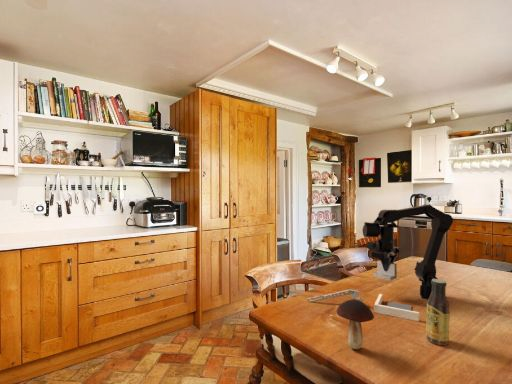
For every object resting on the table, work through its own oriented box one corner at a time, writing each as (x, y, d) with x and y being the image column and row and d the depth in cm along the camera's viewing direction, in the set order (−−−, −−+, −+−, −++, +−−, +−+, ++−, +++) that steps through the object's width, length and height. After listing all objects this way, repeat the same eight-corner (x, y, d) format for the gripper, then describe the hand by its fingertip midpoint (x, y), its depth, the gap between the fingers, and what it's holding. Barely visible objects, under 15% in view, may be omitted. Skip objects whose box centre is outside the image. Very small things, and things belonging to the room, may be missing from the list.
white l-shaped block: (419, 307, 118) (419, 300, 118) (418, 321, 105) (418, 313, 105) (379, 300, 126) (379, 293, 126) (374, 312, 113) (374, 304, 113)
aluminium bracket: (396, 278, 128) (396, 263, 128) (390, 280, 124) (390, 265, 124) (379, 274, 134) (379, 260, 134) (373, 276, 130) (373, 262, 130)
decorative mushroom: (381, 350, 86) (381, 301, 86) (359, 363, 79) (359, 309, 79) (350, 335, 95) (350, 291, 95) (328, 346, 88) (328, 298, 88)
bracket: (363, 302, 119) (352, 280, 119) (317, 321, 122) (306, 299, 123) (362, 299, 122) (351, 278, 123) (317, 317, 125) (306, 297, 126)
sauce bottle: (421, 336, 94) (421, 277, 94) (439, 336, 94) (439, 276, 95) (435, 347, 87) (435, 283, 87) (454, 346, 88) (454, 283, 88)
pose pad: (411, 306, 119) (411, 305, 119) (410, 316, 109) (410, 315, 109) (388, 302, 124) (388, 301, 124) (384, 311, 114) (384, 310, 114)
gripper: (379, 233, 142) (379, 264, 142) (359, 237, 130) (359, 270, 130) (402, 235, 134) (402, 268, 134) (383, 240, 122) (383, 276, 122)
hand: (386, 270), depth 130 cm, fingers closed on aluminium bracket
